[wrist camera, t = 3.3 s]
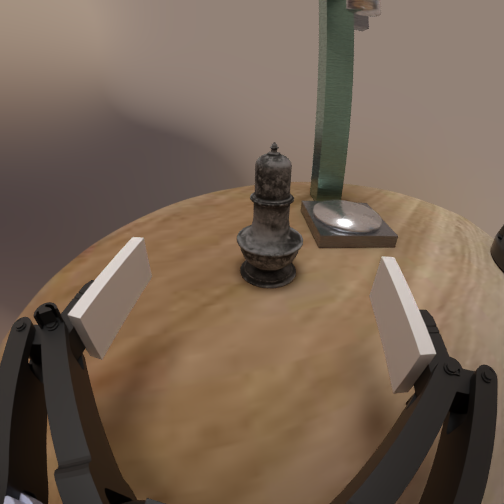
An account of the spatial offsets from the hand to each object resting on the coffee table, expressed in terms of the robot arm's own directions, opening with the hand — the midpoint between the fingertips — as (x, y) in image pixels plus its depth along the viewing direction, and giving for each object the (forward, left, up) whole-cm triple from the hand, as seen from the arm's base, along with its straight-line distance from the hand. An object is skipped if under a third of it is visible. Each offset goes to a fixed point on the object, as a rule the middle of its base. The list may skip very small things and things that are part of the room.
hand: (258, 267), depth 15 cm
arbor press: (-13, -22, -7) cm, 26 cm away
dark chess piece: (-2, -9, -7) cm, 12 cm away
